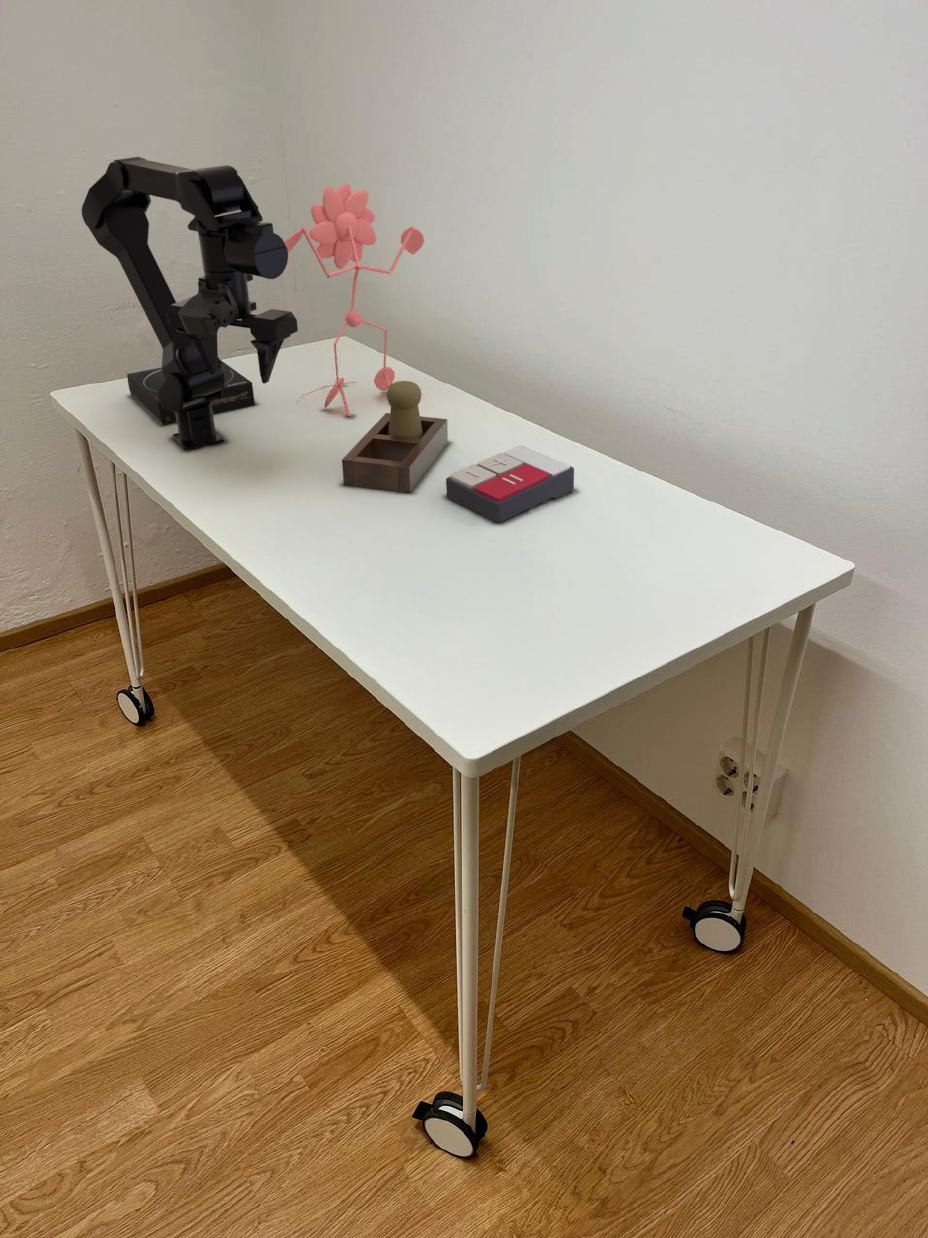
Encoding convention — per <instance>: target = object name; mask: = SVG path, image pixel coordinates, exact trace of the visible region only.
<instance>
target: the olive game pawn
mask: <svg viewBox="0 0 928 1238" xmlns="http://www.w3.org/2000/svg"><path fill="white" fill-rule="evenodd" d="M421 393H422V391H421V388H420V386H419V385H418V384H417V383H416V382H414V381H411V380H410V381H409V380H399V381H394V382H393V383H392V384H391V385H390V386H389V388H388V389H387V390H386V400H387V402H388V404H389V405H390V412H389V413H390V422H389V434H388V435H389V436H398V437H407V438H417V439H421V438H422V437H423V432H422V426H421V420H420V416H421V415H420V409H419V404H420V402H421V399H422V394H421Z"/></svg>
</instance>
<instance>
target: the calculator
mask: <svg viewBox="0 0 928 1238" xmlns="http://www.w3.org/2000/svg"><path fill="white" fill-rule="evenodd" d="M445 483H446V484H445V487H446V497H447V498H448V499H450V500H451V501H453V502H455V503H458V504H459V505H461V506H462V507H465V508H467V509H469V510H471V511H473V512H475V513H477V514H479V515H481V516H483V517H484V518H486V519H489V520H491V521H492V522H495V523H498V524H499V523H500V524H501V523H502V522H504V521H506V520H509V519H510V518H512V517H514V516H516V515H517V516H518V514H520V513H523V512H525V511H527V510H529V509H531V508H533V507H535V506H537V505H539V504H541V503H543V502H545V501H547V500H549V499H551V498H553V499H555V500H556V499H559V498H561V497H563V496H565V495H568V494H569V493H571V492H573V491H574V489H575V468H574V466H571V465H569V464H567V463H566V462H563V461H561V460H558V459H556V458H553V457H551V456H549V455H546V454H544V453H543V452H540V451H537V450H535V449H532V448H530V447H527V446H525V445H522V444H521V445H517V446H516V447H513V448H511V449H508V450H506V451H504V452H499V453H497V454H494V455H492V456H490V457H488V458H486V459H483V460H480V461H478V462H477V464H471V465H469V466H467V467H464V468H463V469H460V470H457V471H455V472H453V473H451V474H450V476H448V477H446V479H445Z"/></svg>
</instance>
